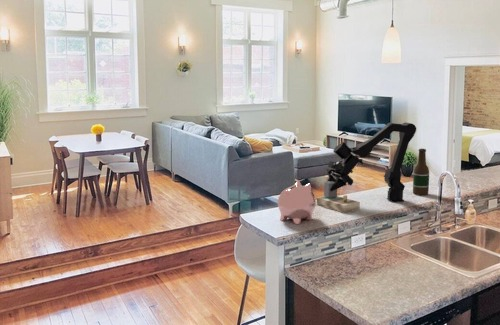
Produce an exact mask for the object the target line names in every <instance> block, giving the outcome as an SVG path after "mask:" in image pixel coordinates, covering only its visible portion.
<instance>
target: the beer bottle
mask: <svg viewBox="0 0 500 325" xmlns="http://www.w3.org/2000/svg"><path fill="white" fill-rule="evenodd" d="M426 152H427V149H426V148H419V149H418V157H417V162H416V165H415V166H414V169H413V174H412V175H413V176H412V177H413V178H412V193H413V195H415V196H420V197H421V196H428V195H429V190H430V188H429V187H430V186H429V185H430V170H429V166H428V165H427V158H426V157H427V156H426V155H427V154H426Z"/></svg>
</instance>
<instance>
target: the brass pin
mask: <svg viewBox="0 0 500 325" xmlns="http://www.w3.org/2000/svg"><path fill="white" fill-rule="evenodd" d="M343 198H344V200H343V202H347V199H348V195H346V194H345V195H343Z"/></svg>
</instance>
